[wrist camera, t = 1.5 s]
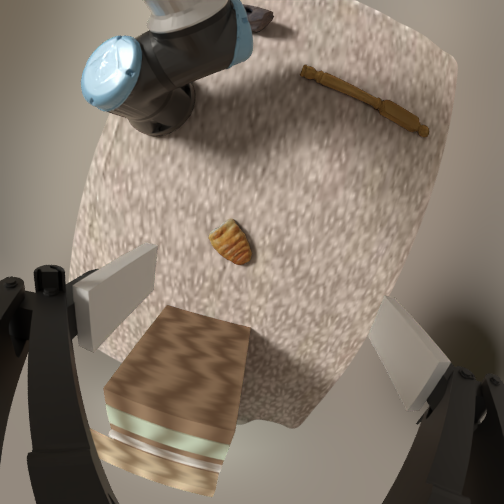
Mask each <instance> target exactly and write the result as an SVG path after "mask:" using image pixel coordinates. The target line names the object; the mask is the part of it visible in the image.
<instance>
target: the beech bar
mask: <svg viewBox="0 0 504 504" xmlns="http://www.w3.org/2000/svg"><path fill="white" fill-rule="evenodd" d="M90 431H91V434H92V438H93V441H94V444H95V447H96V450H97V453H98V456H99V458H100V459H102V460H104V461H106V462H108V463H110V464H112V465H114V466H117V467H119V468H121V469H124V470H126V471H128V472H131V473H133V474H136V475H139V476H141V477H144V478H147V479H149V480H152V481H155V482H158V483H161V484H164V485H167V486H170V487H174V488H177V489H181V490H184V491H188V492H192V493H196V494H200V495H204V496H209V497H213V494H214V492H215V489H216V484H217V479H218V474H217V473H212V472H208V471H204V470H200V469H196V468H192V467H188V466H185V465H181V464H178V463H174V462H171V461H168V460H165V459H162V458H159V457H156V456H153V455H150V454H147V453H145V452H142V451H140V450H137V449H134V448H132V447H130V446H127V445H125V444H122V443H120V442H118V441H116V440H113V439H111V438H109V437H107V436H105V435H103V434H100V433H99V432H97V431H94V430H92V429H91V428H90Z"/></svg>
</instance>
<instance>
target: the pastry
mask: <svg viewBox="0 0 504 504" xmlns="http://www.w3.org/2000/svg"><path fill="white" fill-rule="evenodd" d="M209 239H210V241H211V244H212V246H213V247H214V249H216V250H217V251H218V253H219V254H220V255H222V256H223V257H224V258H226V259H227V260H230V261H232V262H233V263H234V264H237V265H242V264H245V263H247V262H249V261H250V259H251V255H252V252H251V250H250V246H249V243H248V241H247V239H246V235H245V233H244V232H242V231H241V229H240V228H239V226H238V225H237V224H236V223H235V221H234V219H228V220H227V221H226V222H224V223H223V224H222V225H221V226H220V227H219V228H216V229H214V230H213V231H211V233H210V234H209Z"/></svg>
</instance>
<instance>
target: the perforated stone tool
mask: <svg viewBox="0 0 504 504" xmlns="http://www.w3.org/2000/svg"><path fill="white" fill-rule="evenodd" d="M243 6H244V8H245V10H246V13H247V17H248V22H249V23H250V26H251V31H257V32H259V31H261V30H262V29H263V28H264V27H265V26H267V25H268V24H269V23H270V22H271V21H272V20H273V17H274V16H273V12H272V11H269V10H266V9H263V8H259V7H255V6H250V5H243Z"/></svg>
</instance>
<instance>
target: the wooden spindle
mask: <svg viewBox="0 0 504 504" xmlns="http://www.w3.org/2000/svg"><path fill="white" fill-rule="evenodd" d="M300 76H301V77H303V76H304V77H305V78H307V79H315V80H316V82H317V83H321V84H322V85H324V86H327V87H330V88H332V89H335V90H337V91H340V92H342V93H345V94H347V95H349V96H352V97H354V98H356V99H358V100H361V101H363V102H365V103H367V104H369V105H371V106H373V107H374V109H379V113H380V115H382V116H384V117H386V118H388V119H389V120H391V121H393V122H395V123H396V124H398V125H400V126H401V127H403V128H405V129H406V130H408V131H410V132H415V131H416V132H417V131H418V133H419V135H420V136H422V137H427V136H428V135H429V128H428V127H427V126H425V125H421V124H420V122H419V118H418V117H417V116H415V115H414V114H412V113H411V112H409V111H407V110H406V109H404V108H402V107H401V106H399V105H397V104H396V103H394V102H392V101H390V100H385V101H384V100H383V101H382V100H381V99H380V98H376V97H374V96H372V95H370V94H368V93H367V92H365V91H363V90H361V89H359V88H357V87H355V86H353V85H351V84H349V83H347V82H345V81H343V80H341V79H339V78H337V77H335V76H333V75H331V74H328V73H324V72H323V71H316V70H315V68H313V67H311V66H307V65H304V66H303V68H302V71H301V73H300Z"/></svg>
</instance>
